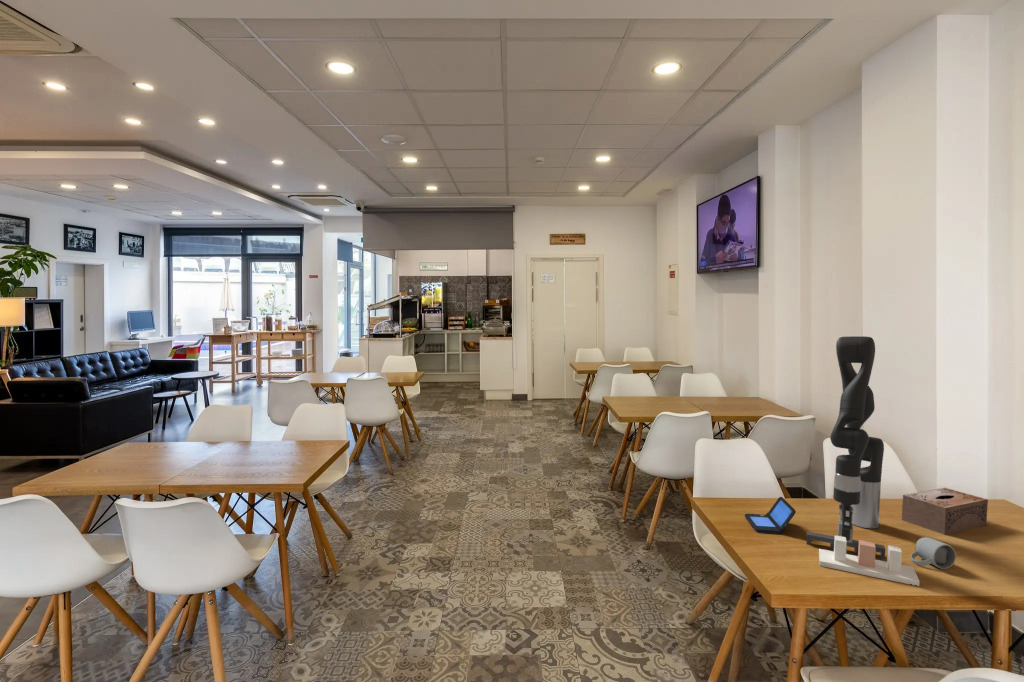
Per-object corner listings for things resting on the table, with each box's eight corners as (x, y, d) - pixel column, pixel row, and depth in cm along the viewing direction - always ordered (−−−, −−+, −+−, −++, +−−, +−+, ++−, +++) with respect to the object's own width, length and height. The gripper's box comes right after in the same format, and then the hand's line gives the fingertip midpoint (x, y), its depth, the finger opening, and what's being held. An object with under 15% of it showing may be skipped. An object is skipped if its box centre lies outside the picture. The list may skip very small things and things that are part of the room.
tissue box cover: (943, 512, 214) (944, 487, 213) (986, 525, 201) (987, 499, 200) (901, 520, 204) (903, 495, 204) (943, 535, 191) (945, 508, 190)
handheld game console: (743, 516, 206) (744, 493, 205) (780, 519, 204) (781, 495, 204) (756, 533, 191) (757, 508, 190) (795, 536, 189) (796, 510, 188)
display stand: (818, 553, 175) (819, 529, 174) (912, 571, 163) (914, 546, 162) (819, 565, 166) (820, 540, 165) (919, 586, 154) (920, 559, 153)
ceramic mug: (932, 556, 173) (933, 533, 173) (956, 568, 165) (957, 544, 165) (902, 558, 172) (903, 535, 172) (925, 570, 164) (926, 546, 163)
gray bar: (806, 541, 184) (807, 515, 183) (883, 555, 173) (884, 528, 173) (806, 544, 181) (807, 518, 181) (884, 559, 171) (886, 532, 170)
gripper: (832, 479, 184) (830, 525, 185) (834, 491, 172) (832, 540, 172) (858, 483, 180) (856, 530, 181) (862, 495, 168) (860, 545, 169)
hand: (844, 535), depth 177 cm, fingers open, 8 cm apart
